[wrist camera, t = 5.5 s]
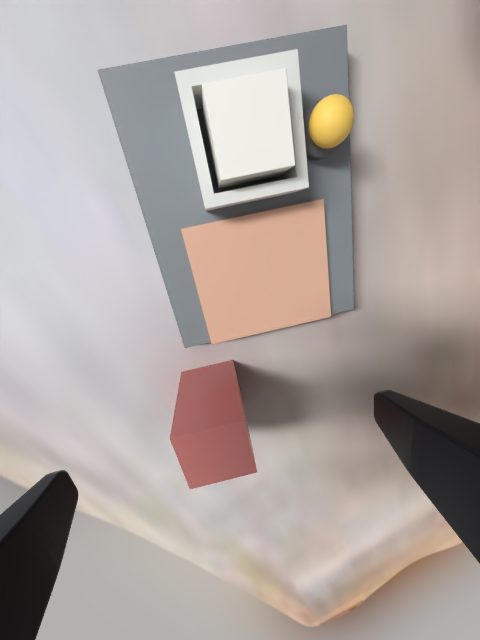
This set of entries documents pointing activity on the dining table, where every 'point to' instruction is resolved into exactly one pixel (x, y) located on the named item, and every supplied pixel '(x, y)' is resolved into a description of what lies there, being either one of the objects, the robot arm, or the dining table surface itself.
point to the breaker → (249, 127)
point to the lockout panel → (243, 188)
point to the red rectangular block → (211, 426)
